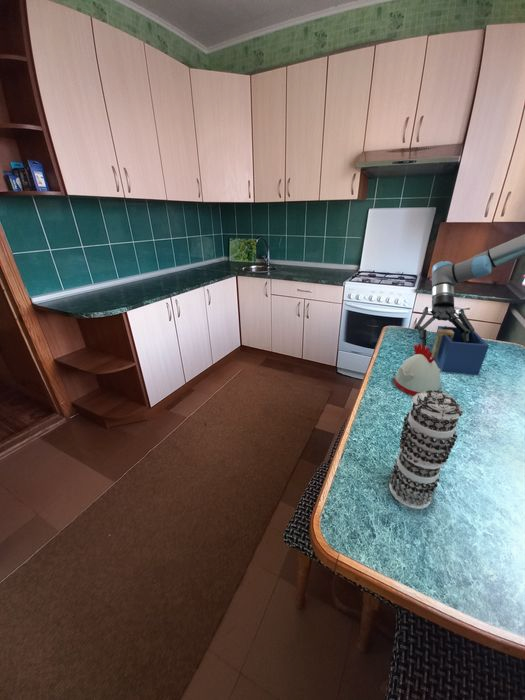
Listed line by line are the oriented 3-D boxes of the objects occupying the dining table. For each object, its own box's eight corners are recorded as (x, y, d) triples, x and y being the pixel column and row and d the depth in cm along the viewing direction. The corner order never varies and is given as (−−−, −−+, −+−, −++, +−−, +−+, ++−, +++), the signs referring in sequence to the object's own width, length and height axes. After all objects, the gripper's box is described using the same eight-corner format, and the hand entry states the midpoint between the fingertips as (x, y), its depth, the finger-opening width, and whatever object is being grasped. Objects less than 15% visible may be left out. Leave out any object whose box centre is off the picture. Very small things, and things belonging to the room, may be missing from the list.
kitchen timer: (417, 372, 108) (426, 335, 101) (448, 392, 96) (461, 352, 89) (385, 378, 104) (393, 341, 97) (414, 400, 92) (425, 359, 86)
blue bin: (430, 351, 122) (438, 325, 117) (463, 354, 119) (471, 328, 114) (441, 371, 108) (450, 342, 103) (478, 374, 105) (489, 345, 100)
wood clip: (444, 355, 115) (451, 329, 110) (446, 358, 112) (454, 332, 107) (430, 354, 116) (437, 328, 111) (432, 357, 113) (440, 331, 108)
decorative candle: (380, 493, 63) (403, 400, 52) (395, 467, 69) (419, 379, 58) (425, 519, 58) (462, 422, 47) (438, 489, 64) (473, 396, 53)
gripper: (473, 304, 116) (476, 354, 110) (406, 301, 122) (405, 348, 116) (483, 295, 110) (486, 347, 103) (411, 292, 115) (410, 341, 109)
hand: (443, 348), depth 110 cm, fingers open, 13 cm apart
